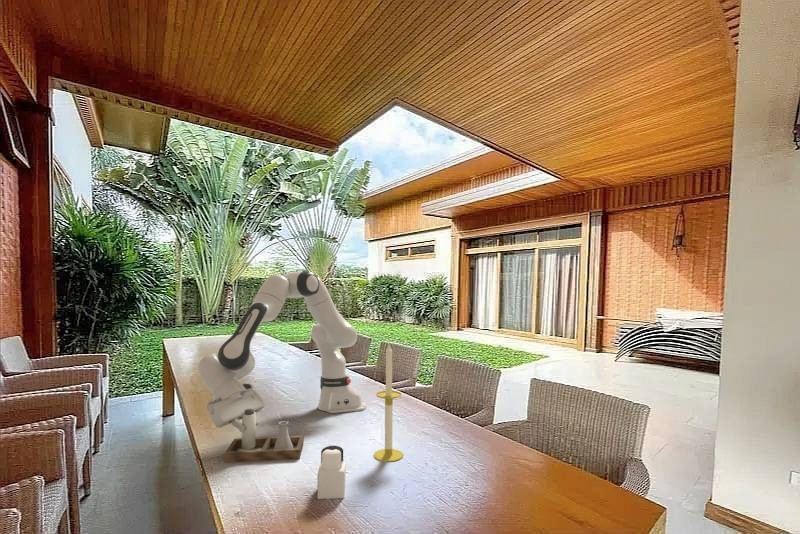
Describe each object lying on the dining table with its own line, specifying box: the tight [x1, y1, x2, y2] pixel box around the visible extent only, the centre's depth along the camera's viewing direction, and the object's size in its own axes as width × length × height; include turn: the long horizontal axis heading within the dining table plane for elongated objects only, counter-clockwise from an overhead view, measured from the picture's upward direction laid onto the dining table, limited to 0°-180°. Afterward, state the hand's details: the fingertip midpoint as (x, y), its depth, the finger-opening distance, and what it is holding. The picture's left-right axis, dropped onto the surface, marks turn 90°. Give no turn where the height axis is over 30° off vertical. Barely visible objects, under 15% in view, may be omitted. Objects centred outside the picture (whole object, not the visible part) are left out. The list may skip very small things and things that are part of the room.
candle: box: [373, 344, 404, 463], centre depth 138 cm, size 10×10×38 cm
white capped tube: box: [241, 409, 257, 449], centre depth 138 cm, size 4×4×12 cm
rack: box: [223, 435, 305, 464], centre depth 138 cm, size 24×12×3 cm, turn 97°
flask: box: [272, 420, 295, 450], centre depth 139 cm, size 7×7×10 cm
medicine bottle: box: [316, 445, 347, 500], centre depth 113 cm, size 7×7×12 cm
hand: (250, 427), depth 138 cm, fingers closed on white capped tube, 4 cm apart
